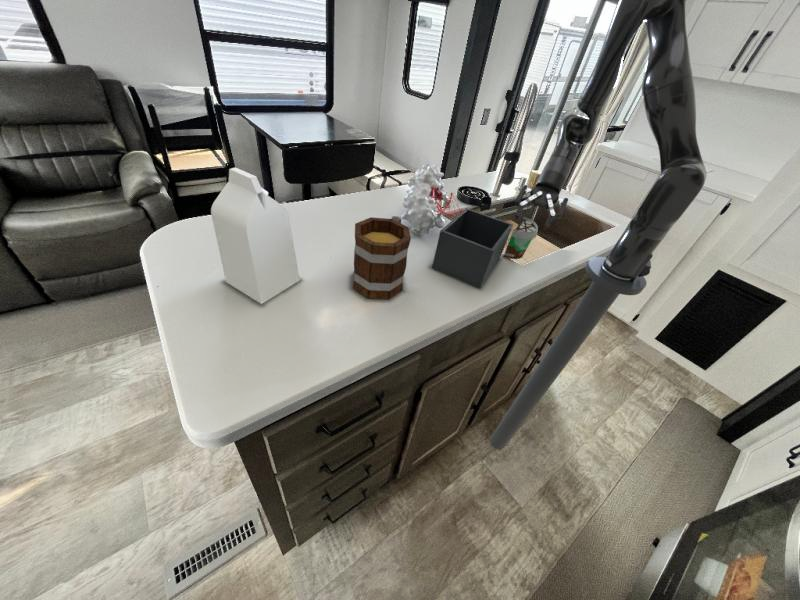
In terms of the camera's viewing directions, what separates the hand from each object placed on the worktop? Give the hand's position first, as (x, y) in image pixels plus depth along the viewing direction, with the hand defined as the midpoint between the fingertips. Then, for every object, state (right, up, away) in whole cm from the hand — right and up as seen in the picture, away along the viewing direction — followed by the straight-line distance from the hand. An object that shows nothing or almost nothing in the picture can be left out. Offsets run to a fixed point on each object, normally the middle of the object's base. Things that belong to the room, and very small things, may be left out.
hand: (530, 223), depth 98 cm
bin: (-20, -13, -3) cm, 24 cm away
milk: (-73, -19, -20) cm, 78 cm away
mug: (-45, -17, -13) cm, 50 cm away
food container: (-3, -9, +5) cm, 10 cm away
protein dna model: (-31, +3, +13) cm, 34 cm away
